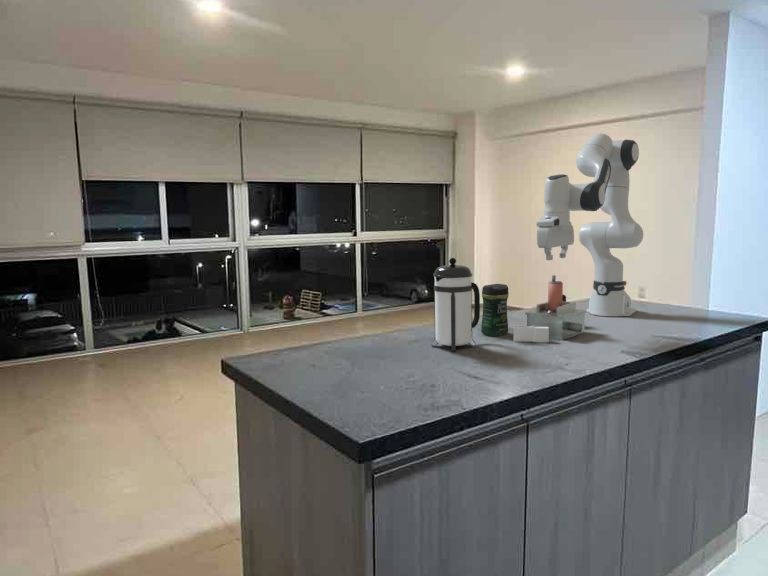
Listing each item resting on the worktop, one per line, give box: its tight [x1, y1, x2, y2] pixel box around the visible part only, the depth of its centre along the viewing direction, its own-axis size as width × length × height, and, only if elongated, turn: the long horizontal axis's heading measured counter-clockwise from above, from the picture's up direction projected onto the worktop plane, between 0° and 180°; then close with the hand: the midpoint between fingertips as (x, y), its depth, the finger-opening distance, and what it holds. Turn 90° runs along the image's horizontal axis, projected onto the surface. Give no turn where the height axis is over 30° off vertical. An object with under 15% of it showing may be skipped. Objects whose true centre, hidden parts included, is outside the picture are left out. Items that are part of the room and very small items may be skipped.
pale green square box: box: [524, 301, 587, 341], centre depth 197 cm, size 17×18×11 cm
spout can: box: [547, 274, 564, 311], centre depth 198 cm, size 5×5×13 cm
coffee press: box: [430, 257, 481, 352], centre depth 183 cm, size 17×16×30 cm
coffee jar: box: [480, 283, 509, 337], centre depth 199 cm, size 10×8×19 cm
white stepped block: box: [512, 325, 550, 343], centre depth 187 cm, size 15×11×6 cm
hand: (556, 259), depth 197 cm, fingers open, 8 cm apart
